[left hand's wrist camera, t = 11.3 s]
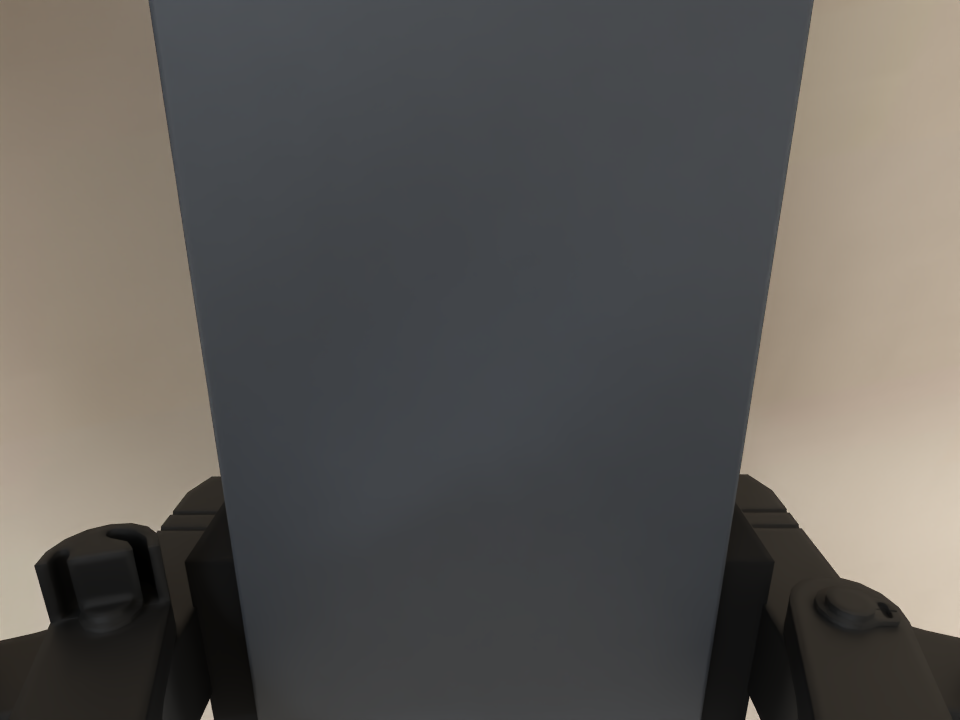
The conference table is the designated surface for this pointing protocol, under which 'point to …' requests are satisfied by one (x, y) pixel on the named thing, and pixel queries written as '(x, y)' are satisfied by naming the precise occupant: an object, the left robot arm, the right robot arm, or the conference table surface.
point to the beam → (480, 335)
